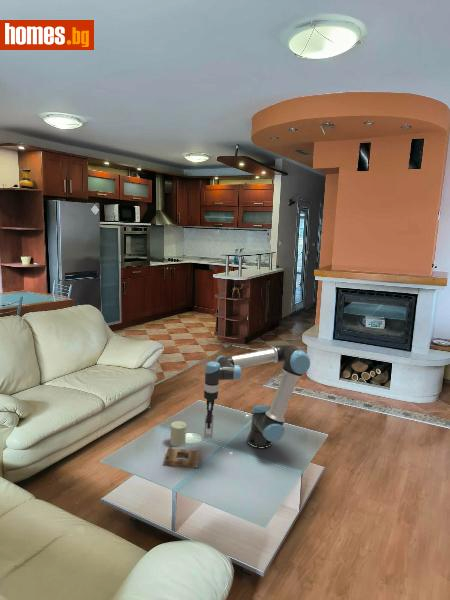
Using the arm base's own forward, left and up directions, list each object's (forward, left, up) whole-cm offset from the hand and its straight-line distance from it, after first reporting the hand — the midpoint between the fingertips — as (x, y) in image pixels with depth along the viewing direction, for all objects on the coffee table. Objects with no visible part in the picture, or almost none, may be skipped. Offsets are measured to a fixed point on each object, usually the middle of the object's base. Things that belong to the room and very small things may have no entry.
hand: (208, 430), depth 223 cm
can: (+18, -16, -18) cm, 30 cm away
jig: (+13, +2, -18) cm, 22 cm away
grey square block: (0, 0, -3) cm, 3 cm away
